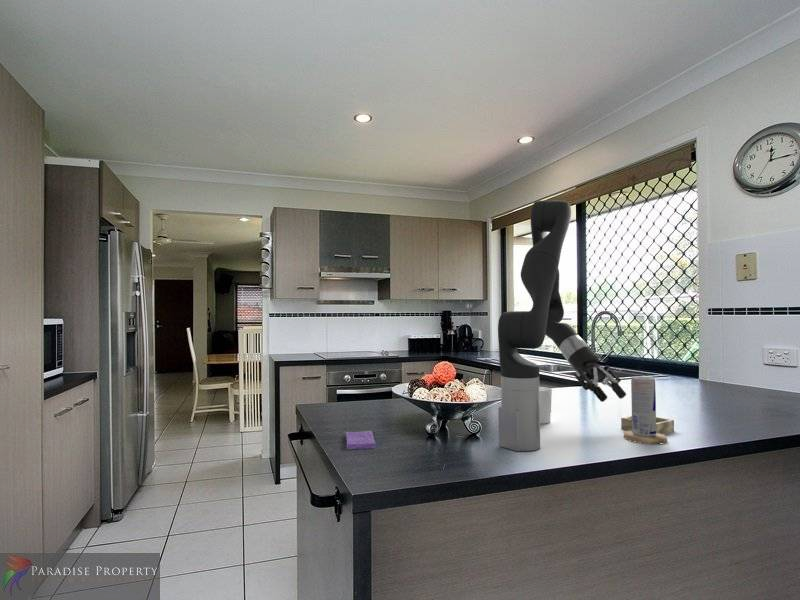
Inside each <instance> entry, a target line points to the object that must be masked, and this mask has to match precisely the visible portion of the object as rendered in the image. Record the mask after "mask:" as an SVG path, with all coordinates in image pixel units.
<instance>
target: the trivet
mask: <svg viewBox="0 0 800 600" xmlns="http://www.w3.org/2000/svg"><path fill="white" fill-rule="evenodd" d="M623 438H624V439H625V438H626V439H625V440H627V439H628V440H627V441H629V440H631V441H630V442H633V441H636V442H635V443H637V442H641V443H640V444H644V443H650V444H649V445H661V444H660V443H664V444H666V443H665V442H667V443H668V437H667V435H666V434H660V433H656V435H655V436H653V437H642V436H638V435H635V434H634V433H633V432H632V431H630V430H625V431H624V432H623Z"/></svg>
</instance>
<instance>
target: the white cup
mask: <svg viewBox="0 0 800 600" xmlns="http://www.w3.org/2000/svg"><path fill="white" fill-rule="evenodd" d="M552 390H553V389H552V388H550V387H546V386H539V393H540V425H543V424H549V423H551V413H552V398H553V397H552V395H553V391H552Z"/></svg>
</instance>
